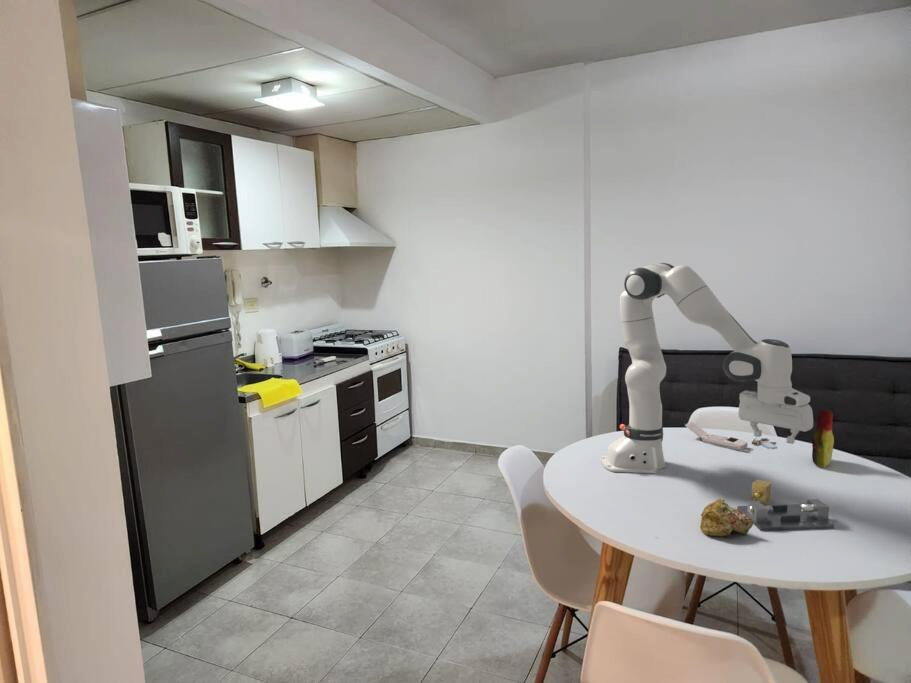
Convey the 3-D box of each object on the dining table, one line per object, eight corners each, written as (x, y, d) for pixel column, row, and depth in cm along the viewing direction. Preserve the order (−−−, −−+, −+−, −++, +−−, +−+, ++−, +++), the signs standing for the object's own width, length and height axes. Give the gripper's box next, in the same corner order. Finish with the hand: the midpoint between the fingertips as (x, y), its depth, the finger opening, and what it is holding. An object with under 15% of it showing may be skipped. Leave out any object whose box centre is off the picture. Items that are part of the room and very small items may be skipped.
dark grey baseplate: (759, 530, 155) (760, 513, 154) (736, 509, 168) (737, 493, 167) (835, 528, 155) (836, 510, 154) (805, 506, 168) (806, 490, 167)
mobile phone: (690, 421, 233) (754, 434, 214) (690, 435, 234) (753, 449, 215) (683, 424, 229) (747, 438, 210) (683, 438, 230) (746, 453, 211)
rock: (736, 548, 155) (757, 520, 153) (727, 555, 149) (749, 527, 146) (698, 518, 162) (718, 491, 159) (688, 524, 156) (708, 496, 153)
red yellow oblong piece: (830, 471, 192) (834, 414, 189) (808, 467, 196) (812, 411, 193) (833, 460, 201) (837, 406, 198) (812, 456, 205) (816, 403, 202)
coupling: (763, 505, 169) (764, 488, 168) (749, 501, 172) (750, 484, 171) (772, 498, 174) (773, 481, 173) (759, 494, 177) (760, 477, 176)
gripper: (734, 391, 174) (734, 434, 176) (806, 401, 157) (805, 449, 159) (745, 387, 177) (744, 430, 179) (816, 397, 161) (815, 444, 163)
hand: (773, 439), depth 169 cm, fingers open, 8 cm apart
